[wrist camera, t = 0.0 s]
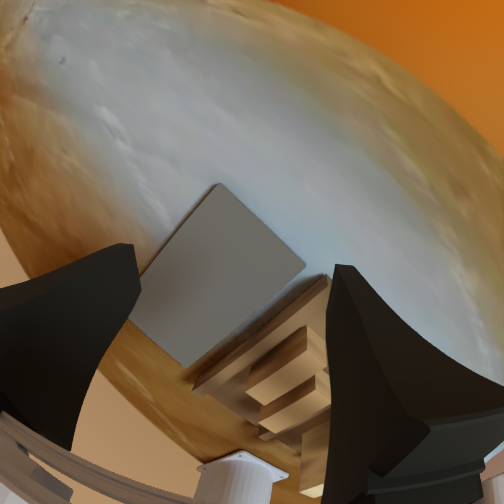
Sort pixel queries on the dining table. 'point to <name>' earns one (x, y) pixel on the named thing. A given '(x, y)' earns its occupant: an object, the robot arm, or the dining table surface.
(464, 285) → the dining table surface
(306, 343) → the teak offcut
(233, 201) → the charcoal mat
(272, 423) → the teak offcut
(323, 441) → the birch panel
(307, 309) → the walnut rack
